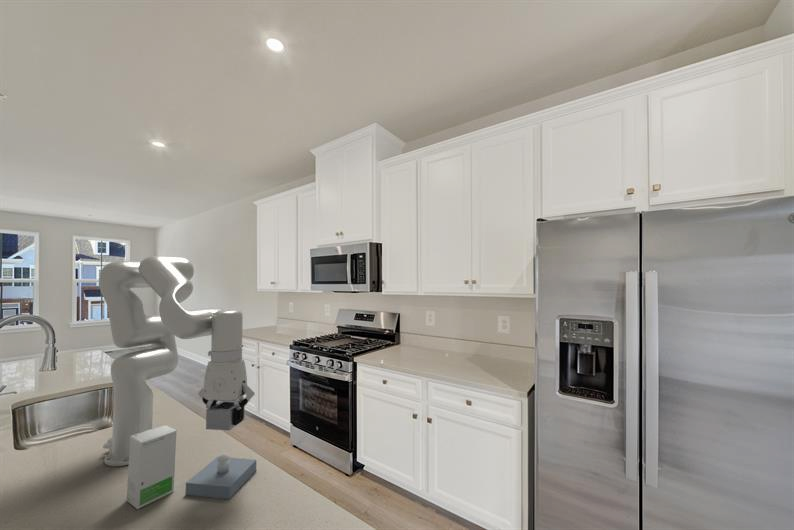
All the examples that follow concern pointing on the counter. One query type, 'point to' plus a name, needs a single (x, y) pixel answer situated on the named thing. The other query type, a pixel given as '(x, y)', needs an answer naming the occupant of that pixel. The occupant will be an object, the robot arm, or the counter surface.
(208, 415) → the grey open box
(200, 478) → the shaft block
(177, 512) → the counter surface
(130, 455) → the skincare box
